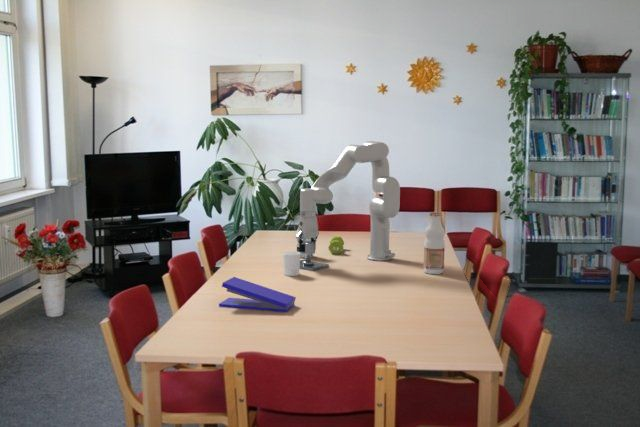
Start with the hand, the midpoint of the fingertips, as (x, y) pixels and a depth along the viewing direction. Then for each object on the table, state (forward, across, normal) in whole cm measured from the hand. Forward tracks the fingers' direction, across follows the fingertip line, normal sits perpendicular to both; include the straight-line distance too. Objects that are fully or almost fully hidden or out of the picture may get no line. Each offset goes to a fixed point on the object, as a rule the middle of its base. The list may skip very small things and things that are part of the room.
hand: (307, 250), depth 354 cm
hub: (+1, 0, 0) cm, 1 cm away
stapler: (+9, -67, -30) cm, 74 cm away
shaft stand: (+8, 0, 0) cm, 8 cm away
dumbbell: (+8, +38, +11) cm, 41 cm away
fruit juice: (+8, +28, -53) cm, 61 cm away
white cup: (+8, -18, -5) cm, 20 cm away
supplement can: (+8, +17, +16) cm, 25 cm away
